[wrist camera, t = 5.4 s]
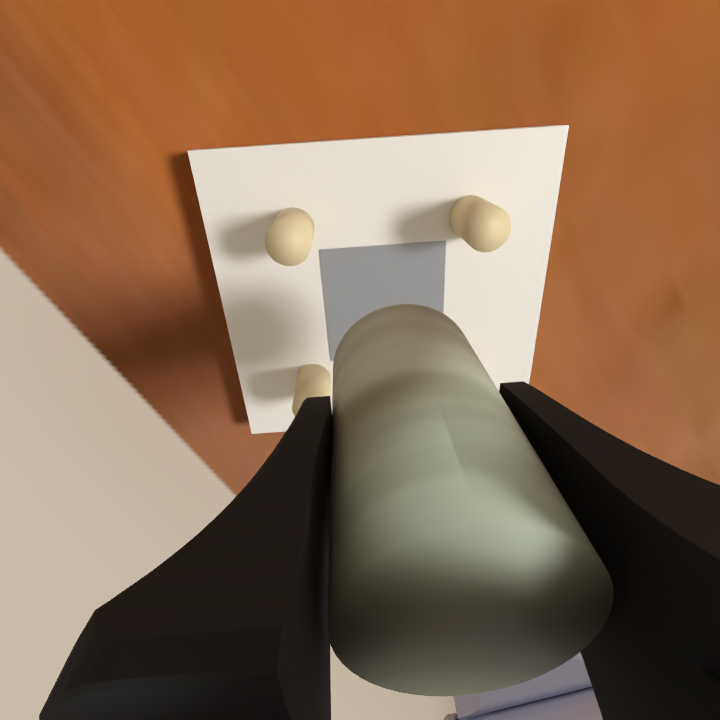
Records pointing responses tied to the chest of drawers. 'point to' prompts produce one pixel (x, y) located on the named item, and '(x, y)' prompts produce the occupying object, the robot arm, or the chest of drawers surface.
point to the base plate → (376, 248)
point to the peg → (446, 521)
